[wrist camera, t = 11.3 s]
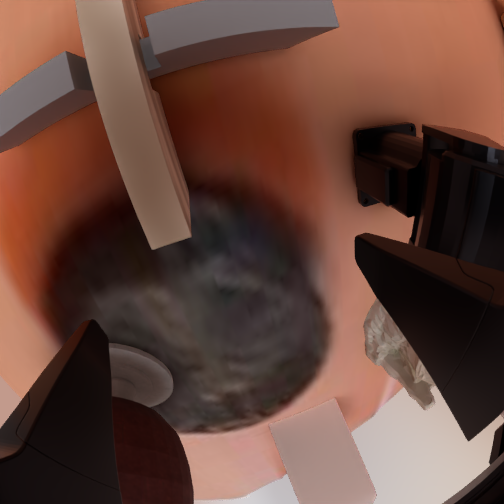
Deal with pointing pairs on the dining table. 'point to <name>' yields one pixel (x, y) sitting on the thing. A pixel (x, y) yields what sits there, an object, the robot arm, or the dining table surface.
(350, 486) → the milk
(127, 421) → the mate gourd
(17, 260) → the dining table surface
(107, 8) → the long wooden slat
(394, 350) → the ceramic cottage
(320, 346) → the dining table surface
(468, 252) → the robot arm
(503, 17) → the rough brown rock
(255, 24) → the grey notched bar
